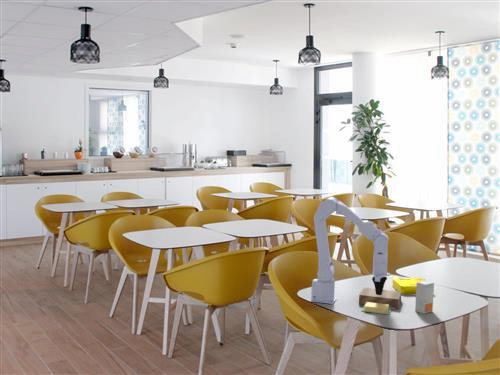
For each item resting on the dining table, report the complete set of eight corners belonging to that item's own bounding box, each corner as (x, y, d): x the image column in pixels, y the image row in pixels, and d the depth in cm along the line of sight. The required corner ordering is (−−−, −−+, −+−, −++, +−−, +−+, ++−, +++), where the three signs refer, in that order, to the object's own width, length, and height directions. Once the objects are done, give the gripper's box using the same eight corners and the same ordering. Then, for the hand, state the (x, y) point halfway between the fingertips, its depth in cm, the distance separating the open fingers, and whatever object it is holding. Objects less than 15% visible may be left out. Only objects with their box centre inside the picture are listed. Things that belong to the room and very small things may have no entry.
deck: (358, 304, 231) (359, 294, 231) (363, 296, 242) (363, 287, 242) (398, 308, 225) (398, 299, 225) (401, 300, 237) (401, 291, 236)
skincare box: (423, 314, 219) (425, 284, 218) (414, 311, 223) (416, 282, 222) (433, 311, 223) (434, 282, 222) (424, 308, 226) (425, 280, 225)
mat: (361, 311, 222) (361, 310, 222) (364, 304, 230) (364, 304, 230) (389, 314, 218) (389, 313, 218) (391, 308, 226) (392, 307, 226)
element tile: (400, 295, 247) (401, 284, 246) (391, 286, 261) (391, 276, 261) (433, 295, 247) (434, 285, 247) (422, 286, 262) (422, 276, 261)
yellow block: (366, 301, 227) (366, 306, 227) (364, 306, 221) (364, 310, 221) (389, 304, 223) (388, 309, 224) (387, 308, 218) (387, 313, 218)
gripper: (388, 267, 219) (386, 300, 220) (392, 259, 232) (390, 291, 234) (370, 265, 221) (368, 298, 223) (375, 258, 235) (374, 289, 236)
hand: (378, 294), depth 228 cm, fingers closed
